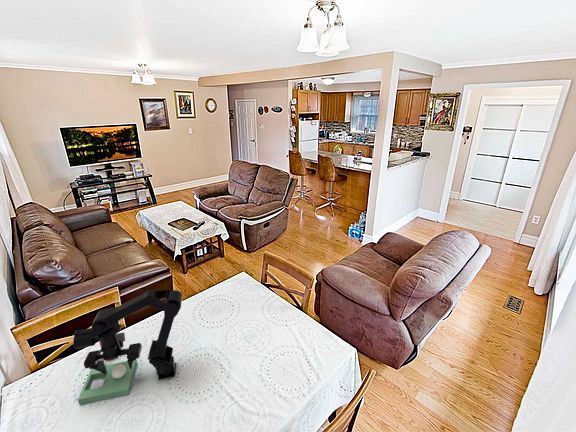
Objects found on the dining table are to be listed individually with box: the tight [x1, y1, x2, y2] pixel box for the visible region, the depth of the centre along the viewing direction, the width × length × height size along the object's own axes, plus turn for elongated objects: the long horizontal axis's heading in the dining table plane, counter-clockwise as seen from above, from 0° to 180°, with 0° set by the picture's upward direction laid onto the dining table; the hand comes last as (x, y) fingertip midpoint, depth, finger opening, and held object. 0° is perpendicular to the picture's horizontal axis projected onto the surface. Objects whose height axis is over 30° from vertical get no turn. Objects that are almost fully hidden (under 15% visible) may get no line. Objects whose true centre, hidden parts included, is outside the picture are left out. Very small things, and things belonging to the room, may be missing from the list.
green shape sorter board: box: [77, 359, 139, 406], centre depth 114 cm, size 17×14×3 cm
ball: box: [111, 364, 126, 379], centre depth 113 cm, size 5×5×5 cm
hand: (118, 370), depth 113 cm, fingers open, 9 cm apart
